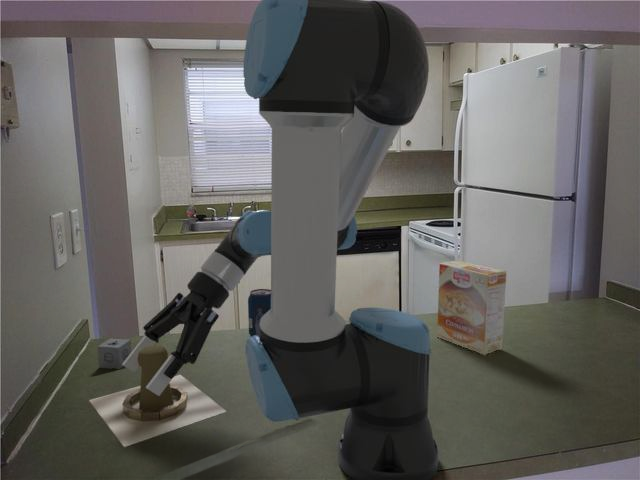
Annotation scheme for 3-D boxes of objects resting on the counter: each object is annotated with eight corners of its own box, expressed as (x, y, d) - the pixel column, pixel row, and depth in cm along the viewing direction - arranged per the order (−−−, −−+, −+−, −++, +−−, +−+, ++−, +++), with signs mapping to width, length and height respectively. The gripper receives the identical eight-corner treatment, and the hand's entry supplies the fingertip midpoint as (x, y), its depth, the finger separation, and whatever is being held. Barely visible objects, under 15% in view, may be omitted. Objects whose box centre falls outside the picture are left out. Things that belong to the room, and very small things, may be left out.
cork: (163, 414, 91) (159, 355, 89) (132, 412, 92) (127, 353, 90) (179, 398, 97) (175, 342, 95) (149, 396, 98) (145, 341, 96)
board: (226, 417, 92) (226, 411, 92) (124, 453, 81) (124, 446, 81) (180, 379, 108) (180, 374, 108) (89, 406, 97) (88, 400, 97)
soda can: (268, 330, 138) (267, 286, 136) (280, 338, 132) (280, 292, 130) (244, 335, 134) (243, 290, 132) (256, 343, 128) (254, 297, 126)
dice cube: (99, 368, 114) (97, 346, 114) (111, 359, 119) (110, 338, 118) (120, 369, 114) (118, 347, 113) (131, 360, 118) (130, 339, 118)
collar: (197, 407, 93) (197, 400, 93) (136, 427, 87) (135, 419, 86) (172, 386, 102) (172, 379, 102) (115, 403, 95) (115, 395, 95)
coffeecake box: (435, 337, 132) (438, 262, 129) (455, 332, 136) (458, 259, 133) (483, 356, 120) (487, 274, 116) (503, 350, 123) (507, 270, 120)
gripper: (260, 306, 91) (182, 414, 85) (200, 281, 110) (132, 368, 103) (233, 282, 87) (148, 393, 80) (175, 260, 106) (102, 349, 99)
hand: (139, 379), depth 92 cm, fingers open, 11 cm apart
